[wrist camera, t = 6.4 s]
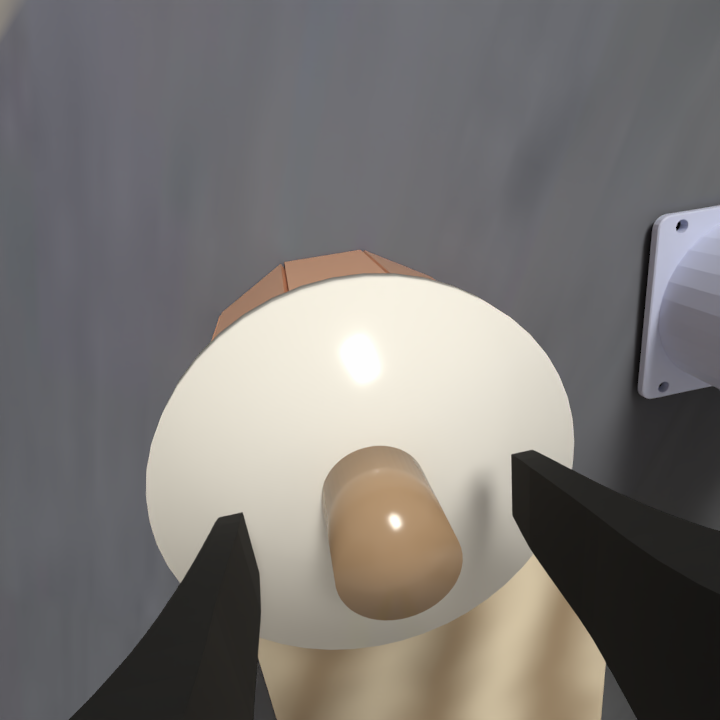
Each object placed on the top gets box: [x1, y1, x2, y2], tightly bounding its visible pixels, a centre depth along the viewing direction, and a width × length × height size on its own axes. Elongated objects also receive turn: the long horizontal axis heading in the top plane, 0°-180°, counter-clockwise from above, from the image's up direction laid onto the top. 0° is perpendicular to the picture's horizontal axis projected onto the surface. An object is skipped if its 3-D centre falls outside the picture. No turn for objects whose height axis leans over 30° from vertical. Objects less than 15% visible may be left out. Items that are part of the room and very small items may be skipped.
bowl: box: [212, 250, 436, 340], centre depth 18 cm, size 11×11×5 cm
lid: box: [146, 273, 574, 650], centre depth 14 cm, size 13×13×4 cm
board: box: [258, 554, 606, 720], centre depth 27 cm, size 18×18×1 cm
